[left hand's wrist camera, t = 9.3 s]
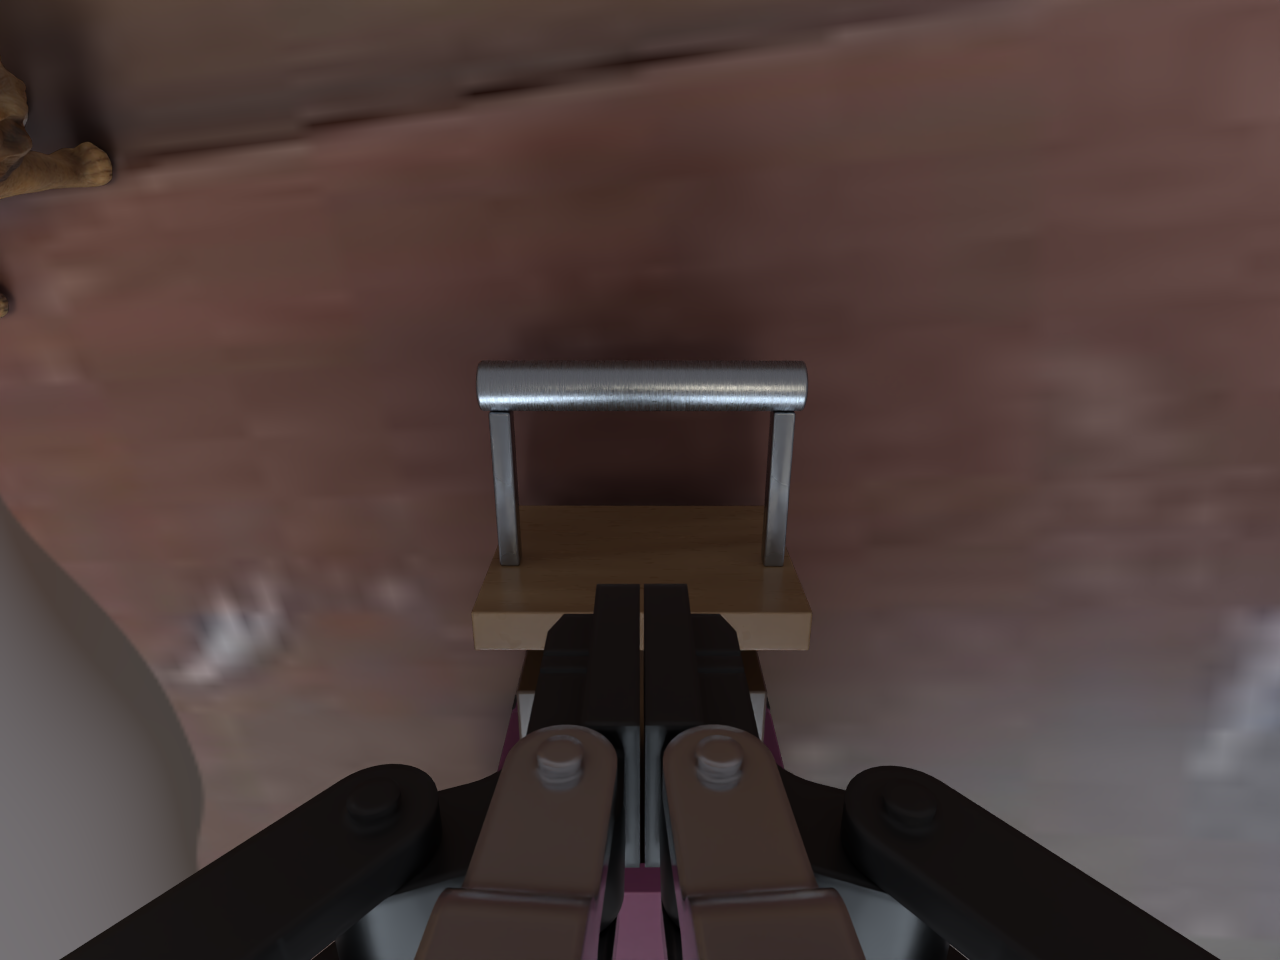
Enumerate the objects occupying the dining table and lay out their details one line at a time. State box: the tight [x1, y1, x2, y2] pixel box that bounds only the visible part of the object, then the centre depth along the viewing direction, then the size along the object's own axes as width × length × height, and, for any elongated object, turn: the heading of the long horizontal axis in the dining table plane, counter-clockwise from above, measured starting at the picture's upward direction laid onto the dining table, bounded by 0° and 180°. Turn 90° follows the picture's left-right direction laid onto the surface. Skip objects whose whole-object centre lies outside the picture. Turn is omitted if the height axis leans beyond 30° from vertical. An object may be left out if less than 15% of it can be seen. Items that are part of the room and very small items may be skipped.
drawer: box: [471, 361, 812, 863], centre depth 26 cm, size 26×9×7 cm, turn 0°
